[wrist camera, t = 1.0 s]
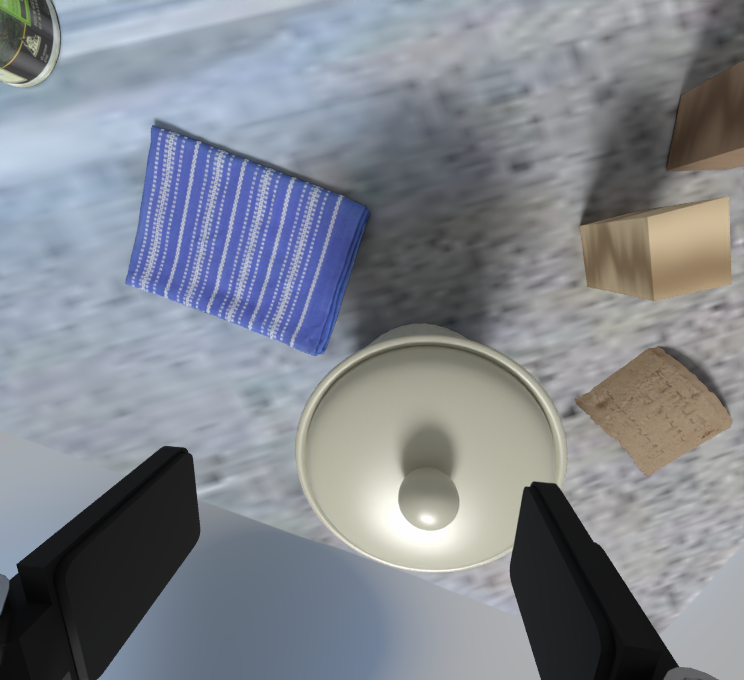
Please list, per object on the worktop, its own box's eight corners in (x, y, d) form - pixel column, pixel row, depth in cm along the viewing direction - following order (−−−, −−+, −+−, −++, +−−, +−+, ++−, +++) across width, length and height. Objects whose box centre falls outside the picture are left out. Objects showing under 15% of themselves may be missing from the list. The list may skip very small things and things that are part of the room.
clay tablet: (567, 396, 39) (578, 407, 36) (647, 333, 36) (666, 340, 34) (650, 480, 40) (667, 496, 38) (733, 425, 38) (757, 438, 35)
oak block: (579, 226, 34) (647, 217, 24) (635, 211, 33) (728, 196, 23) (587, 286, 35) (654, 301, 26) (641, 274, 34) (731, 283, 25)
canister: (462, 470, 42) (512, 681, 21) (320, 417, 42) (236, 576, 22) (531, 333, 37) (681, 437, 17) (370, 273, 37) (323, 304, 17)
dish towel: (325, 357, 40) (319, 365, 38) (134, 284, 41) (115, 287, 38) (376, 208, 36) (374, 205, 33) (161, 127, 36) (140, 117, 33)
